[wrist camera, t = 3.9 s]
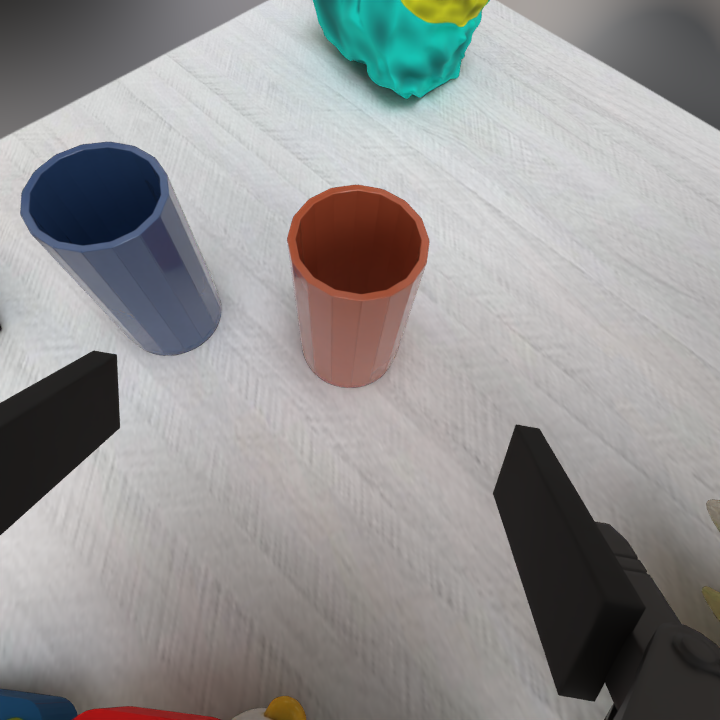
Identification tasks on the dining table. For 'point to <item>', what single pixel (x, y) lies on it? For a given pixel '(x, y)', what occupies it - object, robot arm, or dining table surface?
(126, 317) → the blue cup
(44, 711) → the mechanical component
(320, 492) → the dining table surface
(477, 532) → the dining table surface
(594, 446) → the dining table surface
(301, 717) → the roller toy
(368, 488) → the dining table surface
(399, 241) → the terracotta cup
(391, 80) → the organ model
